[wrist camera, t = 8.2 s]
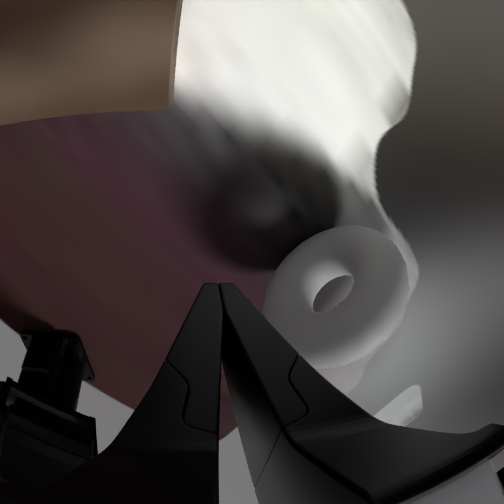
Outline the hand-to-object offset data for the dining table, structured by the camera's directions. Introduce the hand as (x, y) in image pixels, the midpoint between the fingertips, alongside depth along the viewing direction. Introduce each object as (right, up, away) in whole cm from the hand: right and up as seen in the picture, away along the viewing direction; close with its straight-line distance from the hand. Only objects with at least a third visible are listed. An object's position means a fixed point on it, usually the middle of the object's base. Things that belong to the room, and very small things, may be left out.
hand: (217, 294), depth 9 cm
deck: (-10, +15, +3) cm, 18 cm away
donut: (+5, +2, +15) cm, 16 cm away
